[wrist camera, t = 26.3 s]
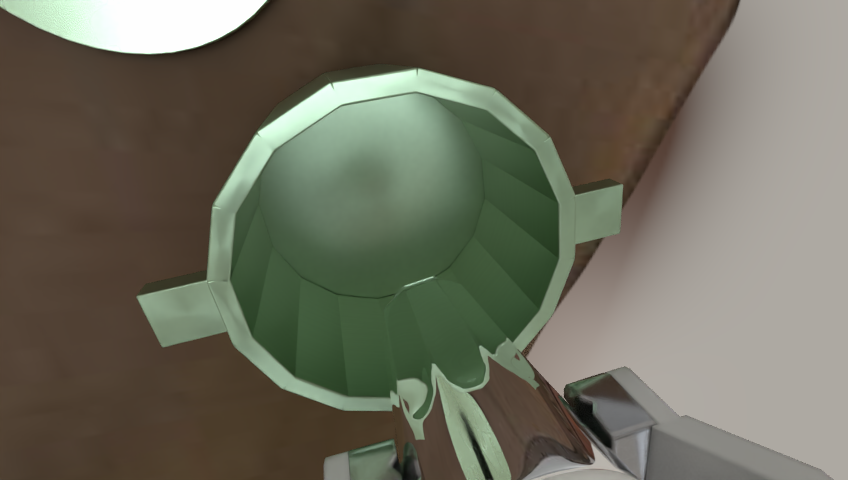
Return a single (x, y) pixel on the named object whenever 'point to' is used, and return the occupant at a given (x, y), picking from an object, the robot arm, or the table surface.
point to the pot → (380, 227)
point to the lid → (137, 22)
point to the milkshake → (478, 398)
